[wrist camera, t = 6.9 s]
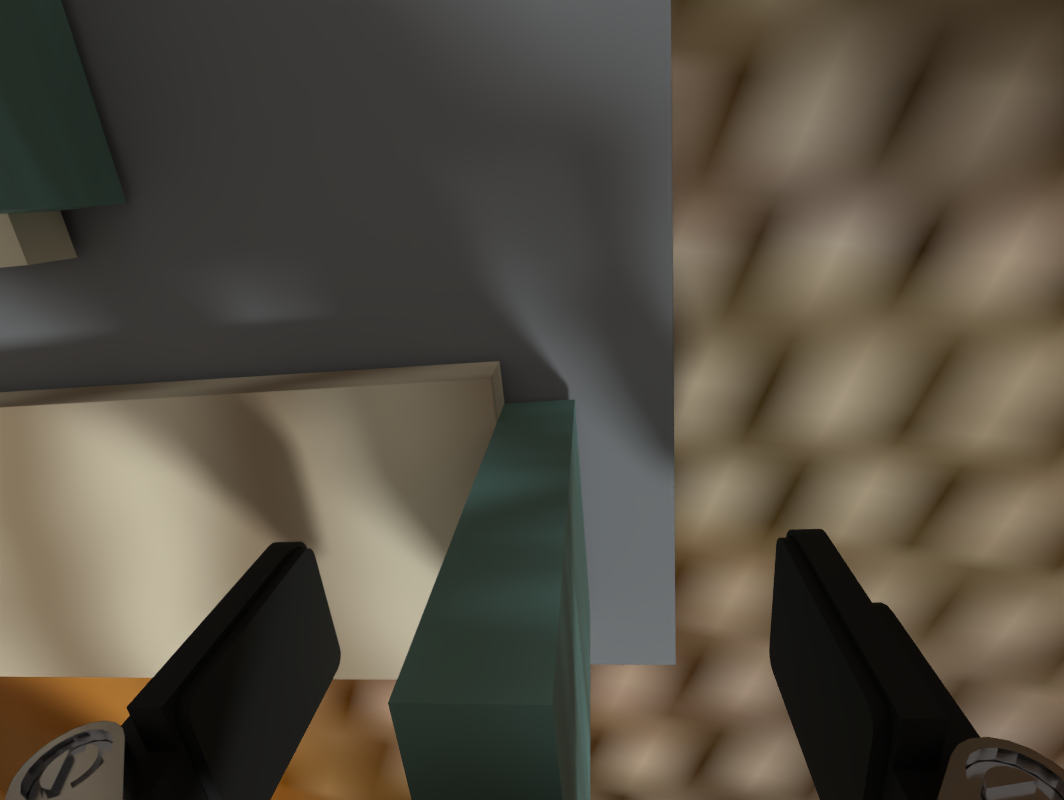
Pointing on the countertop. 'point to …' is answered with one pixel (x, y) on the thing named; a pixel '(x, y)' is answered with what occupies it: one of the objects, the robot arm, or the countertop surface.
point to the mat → (391, 228)
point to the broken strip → (46, 135)
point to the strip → (321, 547)
